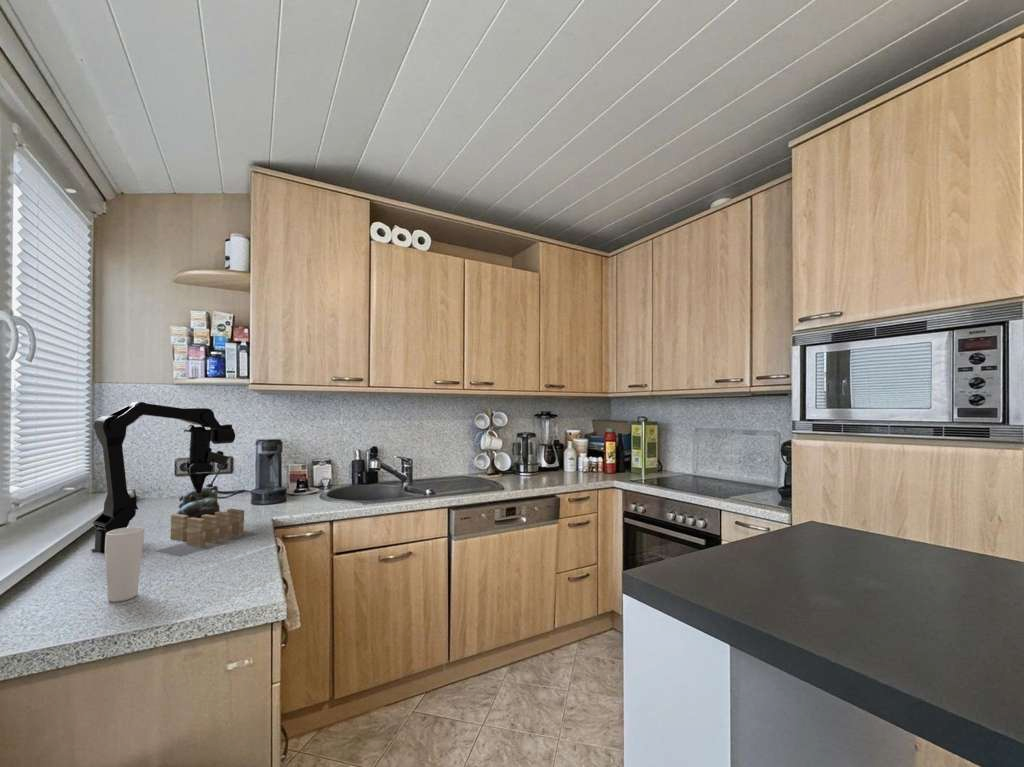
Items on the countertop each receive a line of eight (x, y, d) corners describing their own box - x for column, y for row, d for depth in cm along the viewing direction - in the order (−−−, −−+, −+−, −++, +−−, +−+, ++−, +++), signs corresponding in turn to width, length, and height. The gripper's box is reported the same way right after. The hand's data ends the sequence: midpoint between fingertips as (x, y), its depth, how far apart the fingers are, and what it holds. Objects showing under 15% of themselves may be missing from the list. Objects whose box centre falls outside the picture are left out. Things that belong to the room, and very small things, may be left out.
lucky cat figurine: (166, 523, 169) (166, 486, 175) (188, 527, 180) (188, 493, 185) (209, 510, 170) (208, 474, 176) (228, 515, 181) (226, 481, 187)
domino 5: (239, 536, 152) (239, 511, 152) (226, 534, 154) (227, 509, 154) (243, 535, 153) (244, 510, 153) (231, 532, 156) (231, 508, 156)
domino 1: (182, 542, 146) (183, 516, 146) (170, 540, 149) (171, 514, 149) (187, 541, 148) (188, 515, 148) (175, 539, 150) (176, 513, 150)
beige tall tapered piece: (109, 607, 101) (112, 536, 101) (97, 599, 105) (100, 531, 105) (147, 596, 107) (149, 529, 107) (134, 589, 110) (136, 525, 111)
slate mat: (180, 557, 132) (180, 556, 132) (154, 552, 137) (154, 550, 137) (259, 534, 155) (259, 533, 155) (234, 530, 160) (234, 529, 160)
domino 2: (199, 547, 140) (200, 520, 140) (186, 545, 143) (187, 518, 143) (205, 546, 142) (205, 519, 142) (192, 543, 144) (193, 517, 144)
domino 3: (213, 543, 144) (214, 517, 144) (200, 541, 146) (201, 515, 147) (218, 542, 145) (219, 516, 146) (205, 539, 148) (206, 514, 148)
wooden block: (226, 539, 148) (227, 514, 148) (214, 537, 150) (214, 512, 151) (231, 538, 149) (232, 513, 150) (218, 536, 152) (219, 511, 152)
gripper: (231, 446, 158) (229, 492, 157) (223, 442, 173) (221, 485, 172) (191, 447, 151) (188, 496, 150) (187, 443, 166) (184, 488, 165)
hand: (197, 491), depth 160 cm, fingers open, 9 cm apart
